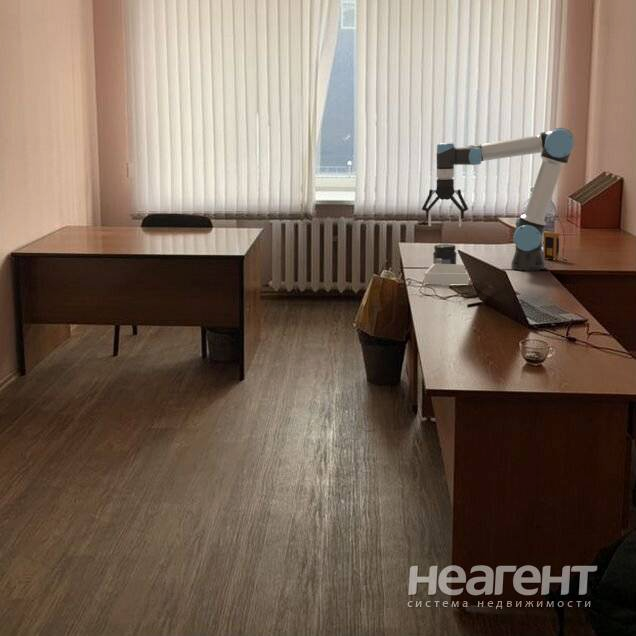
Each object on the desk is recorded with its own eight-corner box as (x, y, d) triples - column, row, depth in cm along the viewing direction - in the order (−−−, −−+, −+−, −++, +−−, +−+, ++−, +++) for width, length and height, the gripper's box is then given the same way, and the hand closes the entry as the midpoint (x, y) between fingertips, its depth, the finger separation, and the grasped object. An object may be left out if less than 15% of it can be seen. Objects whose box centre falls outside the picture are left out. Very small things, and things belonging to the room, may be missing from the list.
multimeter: (574, 259, 480) (575, 217, 475) (561, 261, 474) (562, 219, 469) (549, 256, 491) (550, 215, 487) (536, 258, 485) (537, 217, 481)
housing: (433, 274, 449) (433, 263, 448) (473, 275, 444) (474, 264, 443) (424, 284, 426) (424, 273, 425) (467, 285, 421) (467, 274, 420)
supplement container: (455, 269, 460) (455, 243, 458) (457, 273, 450) (458, 247, 447) (432, 270, 460) (432, 244, 458) (434, 274, 450) (434, 247, 448)
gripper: (415, 179, 446) (415, 227, 450) (472, 179, 439) (471, 227, 444) (418, 177, 453) (418, 224, 457) (474, 177, 446) (473, 225, 451)
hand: (444, 226), depth 451 cm, fingers open, 13 cm apart
